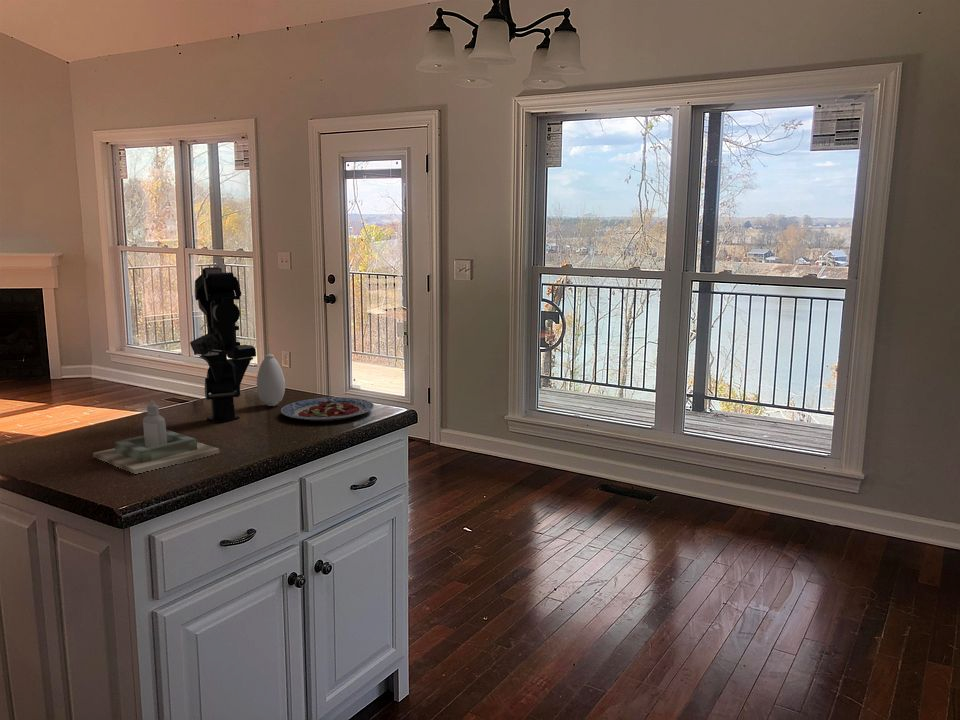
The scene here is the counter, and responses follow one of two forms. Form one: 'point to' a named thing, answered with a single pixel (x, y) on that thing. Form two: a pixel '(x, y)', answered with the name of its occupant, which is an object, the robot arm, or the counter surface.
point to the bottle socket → (154, 453)
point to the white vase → (270, 381)
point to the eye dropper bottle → (154, 427)
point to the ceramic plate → (327, 408)
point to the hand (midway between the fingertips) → (227, 383)
